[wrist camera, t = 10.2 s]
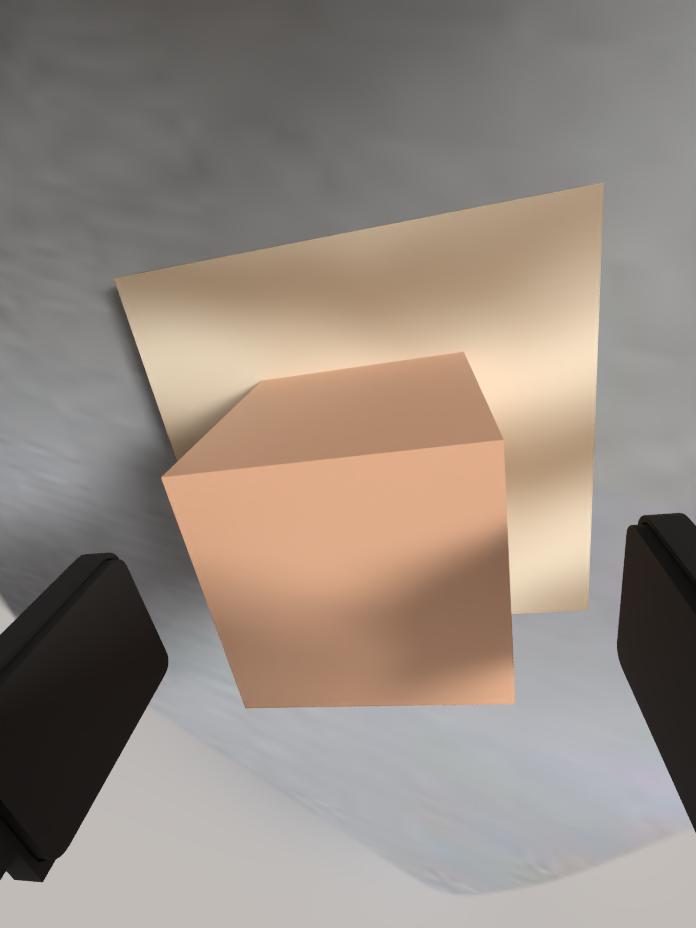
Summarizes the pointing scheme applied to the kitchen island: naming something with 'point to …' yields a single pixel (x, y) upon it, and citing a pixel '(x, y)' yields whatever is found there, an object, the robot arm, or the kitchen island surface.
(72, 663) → the robot arm
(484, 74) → the kitchen island surface
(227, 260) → the birch board
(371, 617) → the peach tan cube
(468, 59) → the kitchen island surface
